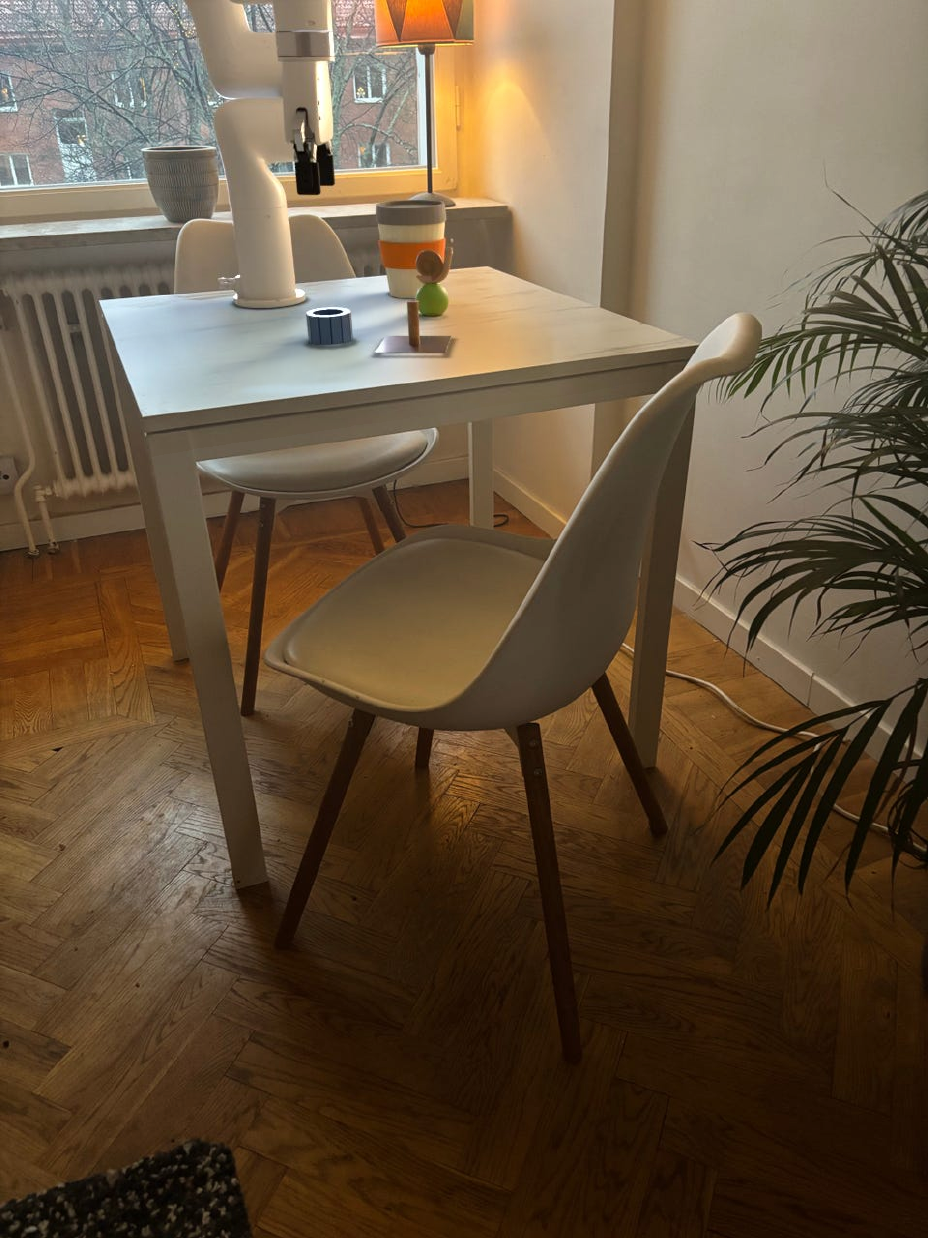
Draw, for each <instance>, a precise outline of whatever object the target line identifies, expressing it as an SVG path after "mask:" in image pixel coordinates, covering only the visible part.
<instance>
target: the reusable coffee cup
mask: <svg viewBox="0 0 928 1238" xmlns="http://www.w3.org/2000/svg"><path fill="white" fill-rule="evenodd" d="M447 219H448V218H447V211H446V204H445V202H444V201H441V200H434V199H433V200H432V199H431V200H430V199H405V200H404V199H403V200H402V199H401V200H390V201H382V202H379V203H376V204H375V224H377V228H378V235H379V238H378V239H377V243H378V248H379V254H380V258H381V264H382V267H384V268H385V269H384V270H385V275H386V280H387V285H388V292H389V295H390V296H391V297H394V298H398V299H399V298H400V299H415V298H416V294H417V291H418V290H419V288H420V287H421V286H423V285H424V284H423V283H421V282H420V281H419V280H418V279H417V278H416V275H420V276H421V274H420V273H419V272H418V271H417V269H416V258H417V256H418V255H419V254H420V253H421V252H422V251H424V250H432V251H435V252H437V253H438V254H439V255H440V257H441V259H442V261H443V264H444V259H445V253H444V250H445V248H446V241H447V240H446V239H447V238H446V236H445V225H446V224H445V223H446V222H447ZM440 283H441V282H439V283H437V284H440Z"/></svg>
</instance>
